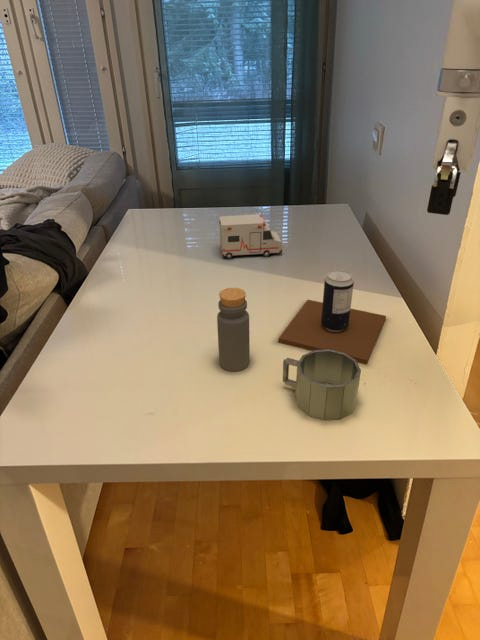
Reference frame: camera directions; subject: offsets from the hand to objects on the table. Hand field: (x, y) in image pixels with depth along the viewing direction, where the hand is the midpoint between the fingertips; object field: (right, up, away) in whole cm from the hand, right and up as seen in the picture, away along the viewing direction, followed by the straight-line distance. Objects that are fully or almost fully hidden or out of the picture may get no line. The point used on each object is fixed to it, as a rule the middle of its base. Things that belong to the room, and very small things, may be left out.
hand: (441, 204), depth 74 cm
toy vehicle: (-29, +1, +62) cm, 68 cm away
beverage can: (-12, -20, +24) cm, 34 cm away
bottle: (-33, -27, +16) cm, 45 cm away
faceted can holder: (-19, -32, +7) cm, 37 cm away
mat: (-12, -21, +25) cm, 34 cm away
